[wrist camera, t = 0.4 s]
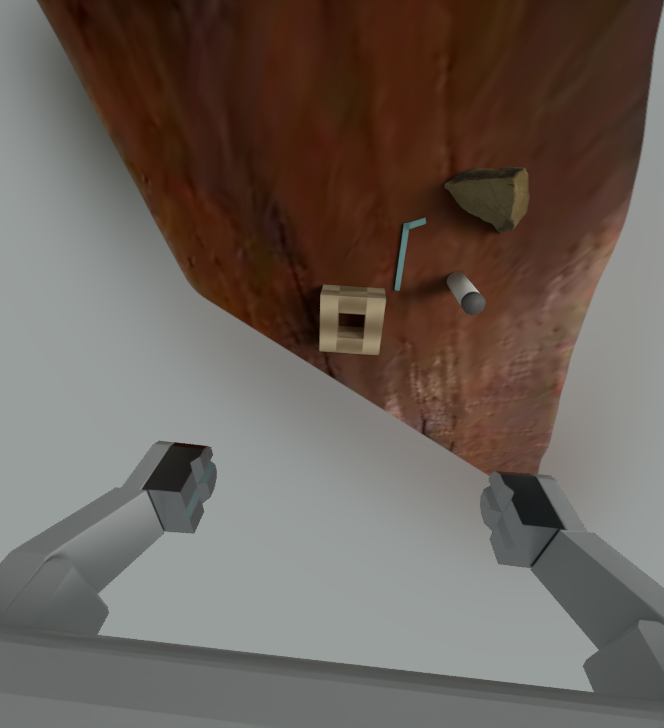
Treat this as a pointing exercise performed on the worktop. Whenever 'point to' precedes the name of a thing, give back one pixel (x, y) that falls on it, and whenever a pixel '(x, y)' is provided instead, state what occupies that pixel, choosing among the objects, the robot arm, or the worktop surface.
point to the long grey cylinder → (465, 293)
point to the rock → (493, 195)
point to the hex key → (403, 248)
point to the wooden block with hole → (351, 303)
